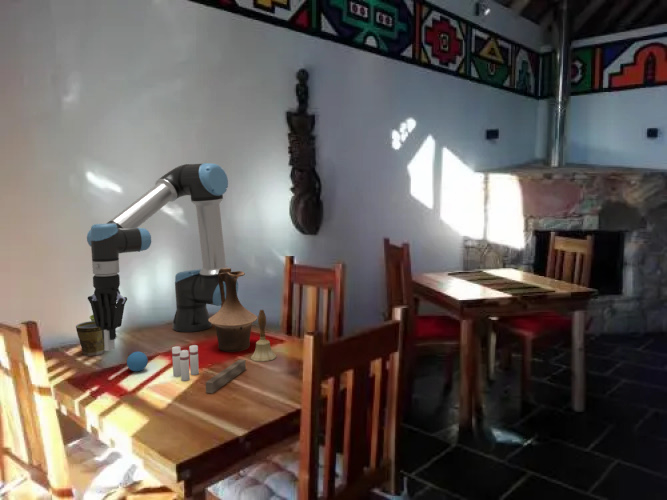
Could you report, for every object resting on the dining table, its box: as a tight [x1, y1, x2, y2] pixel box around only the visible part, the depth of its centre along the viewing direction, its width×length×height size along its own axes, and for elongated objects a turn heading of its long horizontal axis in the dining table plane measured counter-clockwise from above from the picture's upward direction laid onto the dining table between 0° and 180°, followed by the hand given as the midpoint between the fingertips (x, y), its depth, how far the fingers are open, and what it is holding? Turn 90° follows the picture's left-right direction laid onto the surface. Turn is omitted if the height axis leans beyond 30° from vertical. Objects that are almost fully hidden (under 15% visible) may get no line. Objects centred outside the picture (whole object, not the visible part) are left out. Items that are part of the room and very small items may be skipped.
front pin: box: [171, 345, 181, 378], centre depth 159 cm, size 2×2×8 cm
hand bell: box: [250, 309, 277, 363], centre depth 174 cm, size 8×8×16 cm
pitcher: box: [208, 267, 258, 353], centre depth 185 cm, size 18×17×28 cm
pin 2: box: [188, 344, 200, 376], centre depth 160 cm, size 2×2×8 cm
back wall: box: [205, 358, 247, 394], centre depth 154 cm, size 20×2×3 cm, turn 163°
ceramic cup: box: [75, 320, 105, 357], centre depth 182 cm, size 13×10×10 cm
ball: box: [126, 351, 149, 372], centre depth 163 cm, size 6×6×6 cm
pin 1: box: [180, 349, 191, 382], centre depth 155 cm, size 2×2×8 cm
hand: (109, 349), depth 165 cm, fingers closed
